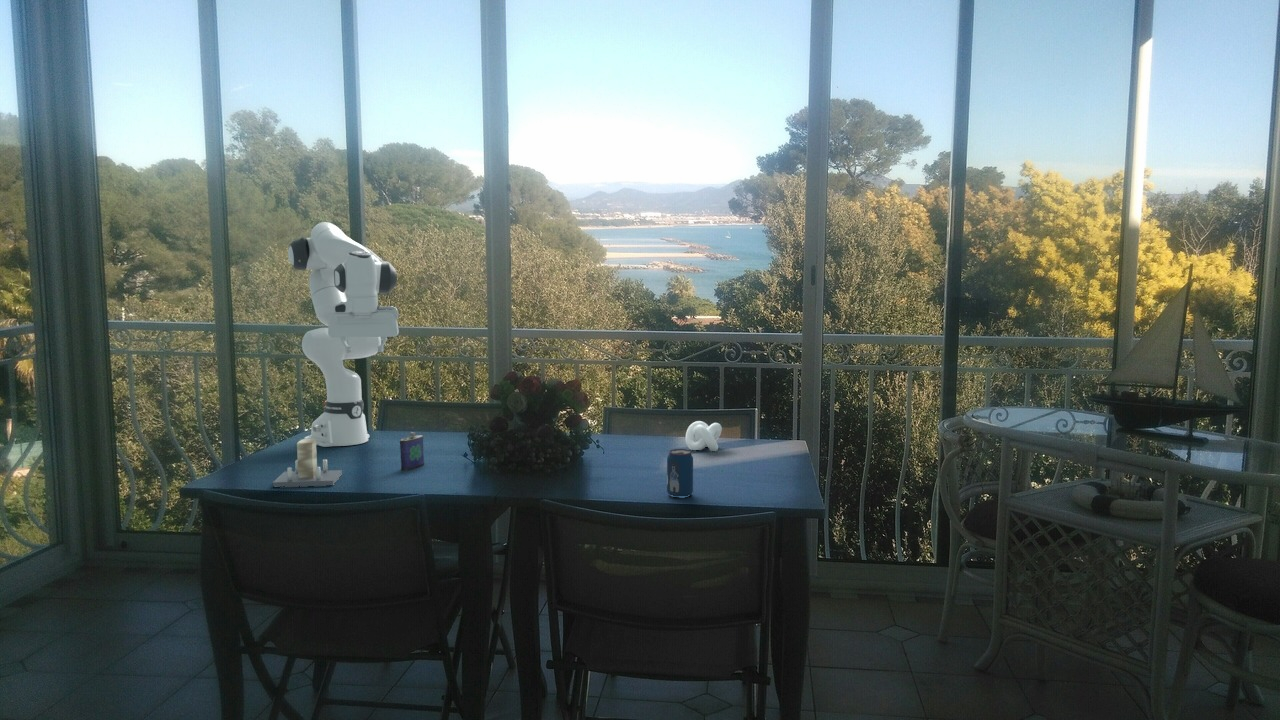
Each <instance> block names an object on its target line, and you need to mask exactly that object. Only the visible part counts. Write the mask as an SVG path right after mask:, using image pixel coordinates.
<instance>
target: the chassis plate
mask: <svg viewBox="0 0 1280 720" xmlns="http://www.w3.org/2000/svg"><path fill="white" fill-rule="evenodd" d="M294 463H295V468H294V469H295V470H294V471H293V467H291V466H290V467H287V471H283V473H281V474H279V476H278V477H277V478H276V479H275V480H273V481H272V487H273V486H279V487H280V486H282V487H280V488H306V487H307V488H309V487H308V486H314V487H327V486H326V485H334V486H335V484H336V483H337V482H338V481H339V479H340V478H341V477H342V476H343V470H342V469H340V470H339V469H337V470H336V469H335V470H334V469H332V470H331V469H330V470H329V469H328V459H322V470H321V466H317V467H316V476H315V477H314V478H299V477H298V459H296V460H295V461H294ZM341 475H342V476H341ZM340 476H341V477H340ZM339 477H340V478H339ZM337 480H338V481H337ZM336 481H337V482H336ZM335 482H336V483H335ZM334 483H335V484H334ZM283 486H285V487H283ZM299 486H300V487H299Z"/></svg>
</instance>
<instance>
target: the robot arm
mask: <svg viewBox="0 0 1280 720" xmlns="http://www.w3.org/2000/svg"><path fill="white" fill-rule="evenodd" d="M287 258H288V260H289V263H290V265H291V267H292V268H293V269H295V270H297V271H306V270H308V271H309V270H310V271H311V272H310V273H309V279H308V286H309V293H310V298H311V301H312V304H313V308H314V312H315V315H316V318H317V320H318V321H319V322H320V323H321V324H323V325H325V326H327V327H319V328H314V329H311V330H308V331H306V333H305V334H304V336H303V337H302V339H301V349H302V353H304V355H305V357H306V358H307V359H308V360H310V361H311V362H313V363H314V364H315V365H317V366H318V368H319V369H320V371H321V372H322V374H323V377H324V380H325V387H326V388H325V389H326V397H327V398H326V401H325V402H321V403H322V405H321V406H322V407H324V409H323V413H321V414H320V416H318V417H317V418H316V419H315V420H314V421H313V422H312V423H311V427H310V428H311V430H310V435H307V436H304V437H303V439H316V446H320V447H322V448H323V447H324V448H326V447H329V448H330V447H342V446H343V447H345V446H354V445H361V444H365V443H367V442H369V438H370V434H369V433H368V430H367V429H368V427H367V422H366V421H367V420H366V415H365V413H364V410H365V409H364V405H365V404H364V399H363V397H362V394H363V393H362V379H361V376H360V375H359V374H358V373H357V372H355V371H353V370H351V369H348V368H346V367H345V366H344V360H353V359H355V360H356V359H364V358H368V357H372V356H375V355H377V354H378V353H383V352H384V346H385V344H386V343H387V340H388V338H392V337H393V338H396V337H397V336H398V335H399V332H400V331H399V324H398V319H399V318H400V317H399V316H400V315H399V314H400V312H399V310H398V308H396V307H394V306H393V305H379V296H378V294H383V295H384V294H385V295H387V294H389V293H390V292H392V291H393V290H394V289H395V287H396V286H397V283H398V275H397V270H396V269H395V267H394V265H392V264H391V263H390V262H389V261H388V260H384V259H382V258H381V257H379V256H378V255H377V254H376V253H375V252H374V251H372V250H371V249H370V248H368V247H367V246H365V245H363V244H360V243H358V242H356V241H355V240H353V239H352V238H351V237H349V236H348V235H346V233H344V232H343V230H342V229H340V227H338V226H337V225H335V224H334V223H332V222H328V221H322V222H319V223H318V224H315V225H314V227H313V228H312V229H311V232H310V237H304V236H303V237H300V238H298V239H294V240H293V241H291V243H289V245H288V251H287Z"/></svg>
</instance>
